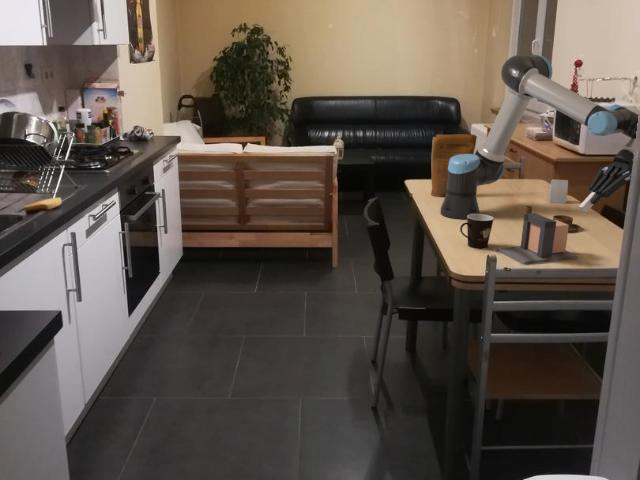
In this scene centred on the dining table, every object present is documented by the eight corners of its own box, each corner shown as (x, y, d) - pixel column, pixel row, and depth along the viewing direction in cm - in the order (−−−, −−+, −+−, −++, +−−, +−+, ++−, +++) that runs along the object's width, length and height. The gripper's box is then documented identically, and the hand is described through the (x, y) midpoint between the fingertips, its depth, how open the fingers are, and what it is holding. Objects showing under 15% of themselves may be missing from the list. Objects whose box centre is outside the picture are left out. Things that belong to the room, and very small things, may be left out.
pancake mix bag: (472, 199, 278) (478, 135, 269) (428, 197, 279) (433, 133, 271) (470, 195, 284) (475, 133, 276) (427, 194, 286) (431, 131, 277)
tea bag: (565, 203, 273) (568, 181, 270) (549, 202, 274) (552, 180, 271) (564, 201, 276) (567, 179, 273) (548, 200, 277) (550, 178, 274)
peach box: (539, 254, 201) (542, 227, 198) (527, 248, 206) (530, 222, 204) (565, 251, 204) (568, 225, 201) (552, 246, 209) (556, 220, 207)
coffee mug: (486, 242, 217) (489, 214, 214) (493, 250, 209) (497, 220, 206) (452, 241, 216) (455, 213, 213) (459, 249, 208) (461, 220, 205)
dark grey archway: (540, 257, 199) (545, 222, 195) (520, 247, 208) (524, 213, 205) (551, 256, 200) (556, 221, 196) (530, 246, 209) (534, 212, 206)
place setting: (547, 235, 228) (549, 219, 227) (520, 220, 247) (522, 206, 245) (591, 233, 231) (593, 218, 230) (561, 219, 250) (563, 204, 248)
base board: (523, 264, 195) (524, 261, 195) (497, 250, 208) (498, 248, 207) (578, 258, 201) (578, 255, 201) (549, 245, 214) (549, 243, 214)
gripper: (652, 167, 200) (602, 222, 200) (621, 160, 212) (574, 212, 212) (641, 151, 197) (591, 206, 197) (610, 145, 209) (563, 197, 209)
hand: (582, 209), depth 204 cm, fingers closed
